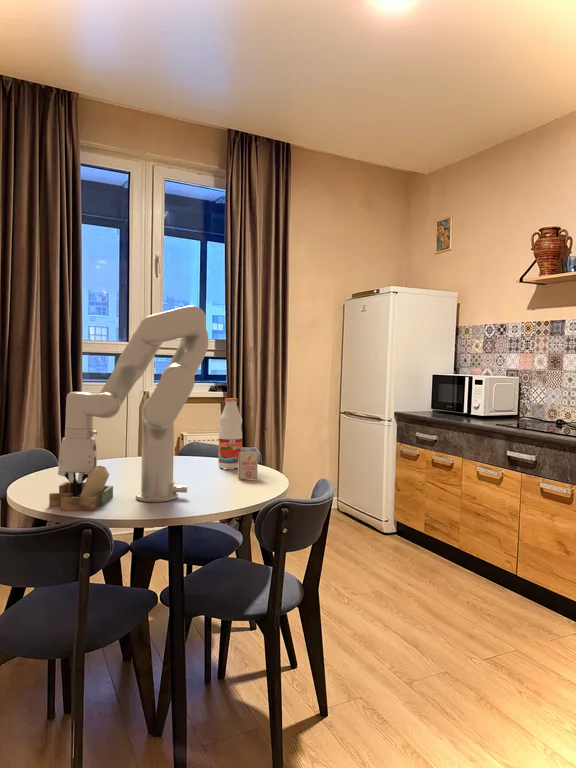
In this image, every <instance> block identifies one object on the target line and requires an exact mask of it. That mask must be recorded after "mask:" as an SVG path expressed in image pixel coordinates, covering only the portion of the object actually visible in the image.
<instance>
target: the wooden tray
mask: <svg viewBox="0 0 576 768" xmlns="http://www.w3.org/2000/svg"><path fill="white" fill-rule="evenodd" d="M85 482H86V481H83V486H82V490H83V487H84V485H85ZM70 487H71V483H70V482H69V481H65V482H63V483H61V484H59V485H58V492H50V493H49V501H48V503H49V504H48V506H49V507H60V511H61V512H72V511H73V512H94V511H96V510H97V509H98V508H99V507H104V506H105V505H106V504H107V503H108V502H109V501H111V500H112V499H113V498H114V485H105V487H104V489H103V492H101V493H97V494H95V495H94V496H93V497H92V498H90V497H81V496H80V495H81V494H80V495H79V496H78V497H75V496H74V497H72V493H70Z"/></svg>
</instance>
